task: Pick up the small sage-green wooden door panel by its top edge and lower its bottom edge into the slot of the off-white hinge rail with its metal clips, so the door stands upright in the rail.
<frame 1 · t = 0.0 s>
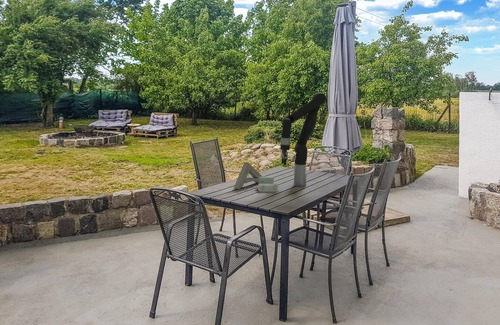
hand: (283, 164, 299), 17 cm above the table, tool pointing down, fingers open, 8 cm apart
hinge rail: (267, 190, 284), on the table
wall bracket: (250, 186, 300), on the table
door panel: (266, 187, 293), on the table
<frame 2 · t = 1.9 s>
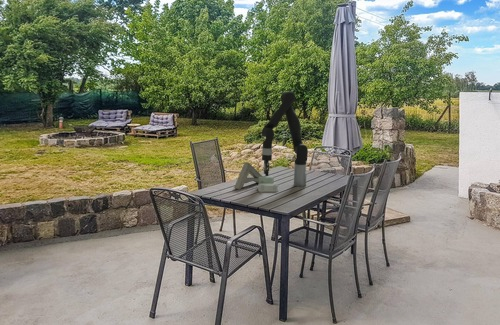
hand: (266, 174, 291), 10 cm above the table, tool pointing down, fingers open, 8 cm apart
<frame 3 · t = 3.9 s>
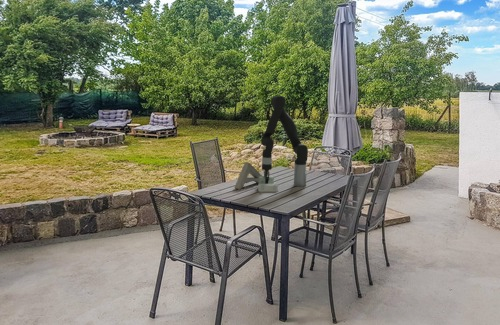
hand: (266, 185, 293), 2 cm above the table, tool pointing down, fingers closed on door panel, 2 cm apart
door panel: (266, 187, 293), on the table, touching gripper
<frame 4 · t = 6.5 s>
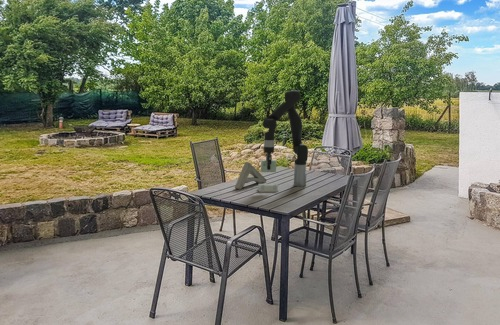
hand: (268, 169, 282), 16 cm above the table, tool pointing down, fingers closed on door panel, 2 cm apart
door panel: (268, 171, 282), point 14 cm above the table, touching gripper
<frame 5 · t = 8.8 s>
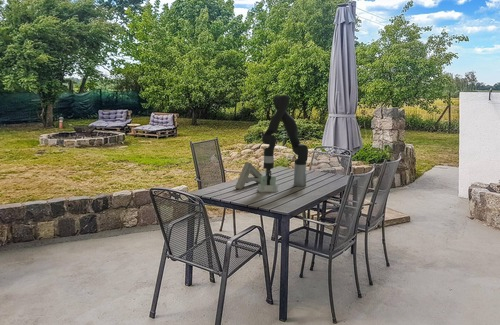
hand: (268, 184, 283), 5 cm above the table, tool pointing down, fingers closed on door panel, 2 cm apart
door panel: (268, 187, 284), point 2 cm above the table, touching gripper
when the fingers open (5 cm above the table, at t = 9.4 s): door panel drops 1 cm, resting on hinge rail.
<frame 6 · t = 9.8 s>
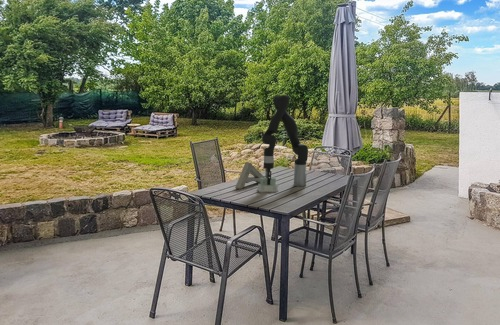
hand: (268, 183, 283), 5 cm above the table, tool pointing down, fingers open, 6 cm apart
door panel: (267, 189, 284), point 1 cm above the table, touching hinge rail
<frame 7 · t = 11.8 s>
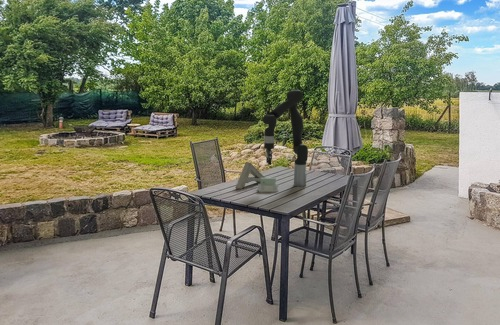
hand: (268, 163, 281), 20 cm above the table, tool pointing down, fingers open, 8 cm apart
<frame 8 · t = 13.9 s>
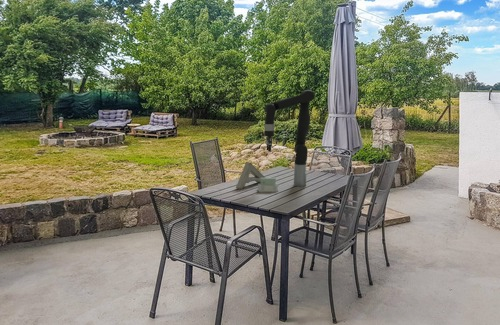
hand: (268, 150, 294), 28 cm above the table, tool pointing down, fingers open, 8 cm apart
at the end: door panel 0.0 cm off-centre on the hinge rail, point 1.0 cm above the hinge rail's base; door panel tilted 0°; the gripper is holding nothing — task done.
